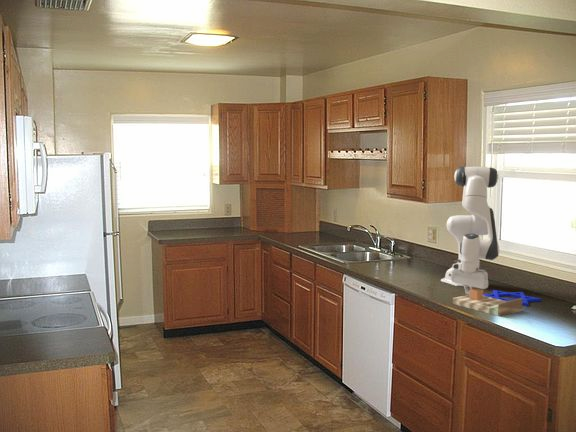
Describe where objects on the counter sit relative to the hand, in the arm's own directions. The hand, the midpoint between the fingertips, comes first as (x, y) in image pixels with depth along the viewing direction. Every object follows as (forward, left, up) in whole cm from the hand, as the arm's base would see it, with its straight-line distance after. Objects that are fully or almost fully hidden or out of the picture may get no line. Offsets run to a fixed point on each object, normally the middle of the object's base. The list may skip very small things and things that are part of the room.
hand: (468, 294), depth 307 cm
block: (+4, 0, -1) cm, 5 cm away
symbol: (+6, +25, -5) cm, 26 cm away
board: (+10, 0, -4) cm, 11 cm away
